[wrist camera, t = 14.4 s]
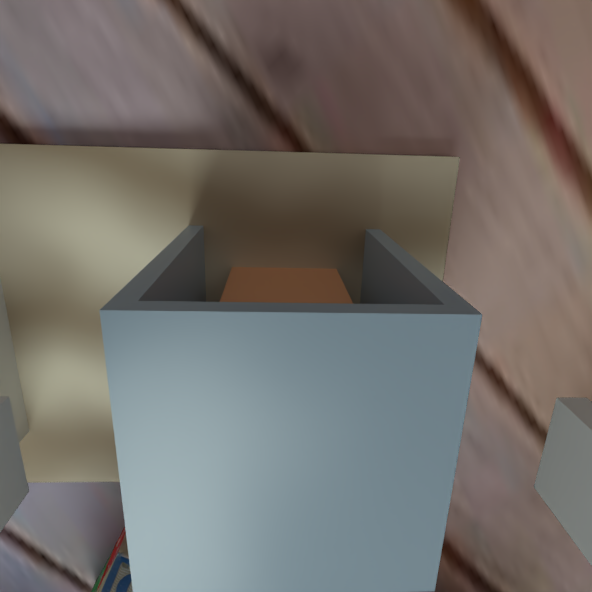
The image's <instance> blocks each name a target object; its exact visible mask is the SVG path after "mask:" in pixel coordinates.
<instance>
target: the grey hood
mask: <svg viewBox="0 0 592 592" xmlns="http://www.w3.org/2000/svg"><path fill="white" fill-rule="evenodd" d="M0 396H9V399H10V403H11V408H12V413H13V418H14V422H15V427H16V432H17V436H18V441H19V442H20V441H21V440H22V439H23V438H24V437H25V435H26V434H27V433H28V432H29V426H28V421H27V416H26V411H25V405H24V400H23V395H22V389H21V384H20V379H19V374H18V368H17V363H16V358H15V352H14V347H13V342H12V337H11V331H10V326H9V321H8V315H7V310H6V305H5V300H4V294H3V289H2V284H1V278H0Z"/></svg>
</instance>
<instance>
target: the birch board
mask: <svg viewBox="0 0 592 592" xmlns="http://www.w3.org/2000/svg"><path fill="white" fill-rule="evenodd" d="M459 159H460V157H451V156H417V155H383V154H348V153H314V152H280V151H245V150H211V149H177V148H142V147H108V146H73V145H39V144H5V143H0V278H1V284H2V289H3V294H4V300H5V305H6V310H7V315H8V321H9V326H10V331H11V337H12V342H13V347H14V352H15V358H16V363H17V368H18V374H19V379H20V384H21V389H22V395H23V400H24V405H25V411H26V416H27V421H28V426H29V432H28V433H27V434H26V435H25V437H24V438H23V439H22V440H21V441H20V442H19V446H20V450H21V455H22V460H23V465H24V469H25V474H26V479H27V482H120V479H119V471H118V462H117V454H116V445H115V437H114V429H113V420H112V412H111V403H110V395H109V386H108V378H107V370H106V361H105V353H104V344H103V336H102V327H101V319H100V311H99V310H100V309H101V308H102V307H103V306H104V305H105V304H107V303H108V302H109V301H110V300H111V299H112V298H113V297H114V296H115V295H116V294H117V293H118V292H119V291H120V290H121V289H122V288H123V287H124V286H125V285H127V284H128V283H129V282H130V281H131V280H132V279H133V278H134V277H135V276H136V275H137V274H138V273H139V272H140V271H141V270H142V269H143V268H144V267H145V266H147V265H148V264H149V263H150V262H151V261H152V260H153V259H154V258H155V257H156V256H157V255H158V254H159V253H160V252H161V251H162V250H163V249H164V248H165V247H167V246H168V245H169V244H170V243H171V242H172V241H173V240H174V239H175V238H176V237H177V236H178V235H179V234H180V233H181V232H182V231H183V230H184V229H185V228H187V227H188V226H189V225H195V226H203V229H204V256H205V282H206V302H220V299H221V297H222V294H223V291H224V288H225V285H226V282H227V280H228V277H229V274H230V271H231V268H232V267H266V268H326V269H337V271H338V273H339V275H340V277H341V279H342V281H343V283H344V285H345V288H346V290H347V292H348V294H349V296H350V298H351V300H352V302H353V304H360V297H361V285H362V272H363V259H364V246H365V234H366V229H380V230H381V231H383V232H384V233H385V234H386V235H387V236H389V237H390V238H391V239H392V240H393V241H395V242H396V243H397V244H398V245H399V246H401V247H402V248H403V249H404V250H405V251H407V252H408V253H409V254H410V255H411V256H413V257H414V258H415V259H416V260H417V261H419V262H420V263H421V264H422V265H423V266H425V267H426V268H427V269H428V270H429V271H431V272H432V273H433V274H434V275H435V276H437V277H438V278H439V279H440V280H441V281H443V275H444V268H445V260H446V253H447V246H448V239H449V232H450V224H451V217H452V210H453V203H454V195H455V188H456V181H457V174H458V167H459Z"/></svg>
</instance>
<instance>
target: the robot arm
mask: <svg viewBox="0 0 592 592" xmlns="http://www.w3.org/2000/svg"><path fill="white" fill-rule="evenodd" d="M534 488H535V489H536V491H537V492H538V493H539V495H540V496H541V497H542V499H543V500H544V502H545V503H546V504H547V506H548V507H549V508H550V510H551V511H552V512H553V514H554V515H555V517H556V518H557V519H558V521H559V522H560V523H561V525H562V526H563V528H564V529H565V530H566V532H567V533H568V534H569V536H570V537H571V538H572V540H573V541H574V543H575V544H576V545H577V547H578V548H579V549H580V551H581V552H582V553H583V555H584V556H585V558H586V559H587V560H588V562H589V563H590V564H591V566H592V402H591V401H590V400H589V399H588V398H557V399H556V403H555V407H554V411H553V414H552V418H551V422H550V426H549V430H548V434H547V438H546V442H545V446H544V449H543V453H542V457H541V461H540V465H539V469H538V473H537V477H536V480H535V484H534ZM28 492H29V488H28V483H27V479H26V474H25V469H24V465H23V460H22V455H21V450H20V446H19V441H18V436H17V432H16V427H15V422H14V418H13V413H12V408H11V403H10V399H9V396H0V532H1V531H2V529H3V528H4V526H5V525H6V524H7V522H8V521H9V519H10V518H11V516H12V515H13V513H14V512H15V511H16V509H17V508H18V506H19V505H20V503H21V502H22V500H23V499H24V498H25V496H26V495H27V493H28Z"/></svg>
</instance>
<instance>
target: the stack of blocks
mask: <svg viewBox="0 0 592 592" xmlns="http://www.w3.org/2000/svg"><path fill="white" fill-rule="evenodd" d="M92 592H133V589H132V580H131V572H130V563H129V555H128V546H127V538H126V530H125V528H124V529H123V531H122V533H121V535H120V537H119V539H118V541H117V543H116V544H115V547H114V549H113V552H112V554H111V556H110V557H109V559H108V561H107V563H106V565H105V566H104V568H103V570H102V572H101V574H100V576H99V577H98V579H97V581H96V583H95V585H94V587H93V590H92Z"/></svg>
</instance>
